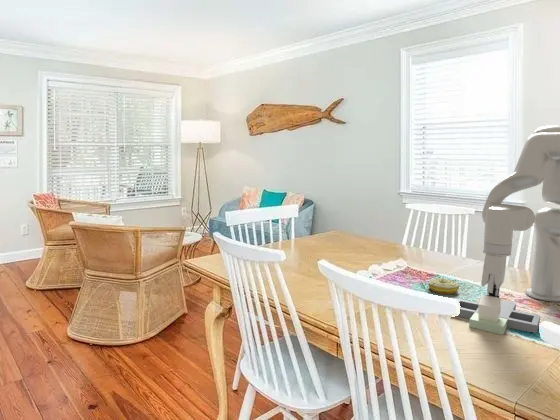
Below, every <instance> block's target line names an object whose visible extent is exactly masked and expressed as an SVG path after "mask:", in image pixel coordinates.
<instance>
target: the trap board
mask: <svg viewBox="0 0 560 420" xmlns="http://www.w3.org/2000/svg"><path fill="white" fill-rule="evenodd" d="M456 299H457V300H459V303H460V306H461V307H460V314H459V316H458V317H461V318H464V319H469V323H468V326H469V328H473V329H477V330H481V331H486V332H488V333H489V332H490V333H493V334H498V335H502V336H503V335H504V334H505V332H506V329H507V328H509V329H514V330H518V331H522V332H526V331H527V333H530V332H534V333H533V334H535V333H536V332H537V333H538V329H539V327H538V325H539V326H540V324H541V315H538V314H533V313H529V312H525V311H519V310H517V302H512V301H507V300H502V299H501V312H500V315H499V318H498V321H497V322H494V321H489V320H485V319H480V318H478V304H479V302H475V301H470V300H465V299H460V298H456ZM539 323H540V324H539ZM537 333H536V334H537Z"/></svg>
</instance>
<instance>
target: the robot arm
mask: <svg viewBox="0 0 560 420" xmlns="http://www.w3.org/2000/svg"><path fill="white" fill-rule="evenodd" d="M541 183H542V187H541V197H542V200H543V201H544V203H547V204H551V205H555V206H560V125H546V126H540V127H537V129H535V130H534V131H533V134H531V135H530V136H528V137H527V139H526V141H525V143H524V145H523V148H522V151H521V152H520V155H519V158H518V161H517V163H516V165H515V167H514V171H513V172H512V173H511V174H509V175H507V176H506V177H505V178H504V179H502V180H501V181H500V182H498V183H497V184H496V185H495V186H494V187H492V189H491V190H490V192H489V193H488V196H487V197H486V200H485V203H484V206H483V209H482V213H481V219H482V221H483V223H484V235H483V245H482V253H483V254H485V256H484V261H483V267H482V275H481V282H480V285H481V287H485V286H486V288H487V289H486V295H487V296H492V297H497V298H500V290H501V289H500V288H501V286H502V285H503V284H504V282H505V278H506V277H505V275H506V270H507V269H506V267H507V257H511V256H512V248H513V247H512V246H513V238H514V237H513V236H514V232H515V231H518V232H523V231H527V230H529V229H530V228H532V226H534V234H535V235H534V249H533V250H534V251H533V261H532V262H533V263H532V272H531V283H530V287H528V288H526V289H525V294H526V295H527V296H529V297H531V298H533V299H536V300H540V301H546V302H557V303H558V302H559V303H560V208H554V207H544V208H540V209H539V210H537V211H536V213H534V210H532V209H531V208H530V207H527V206H523V205H517V204H507V203H503V202H504V200H505V199H506V198H508V197H510V195H512V194H514V193H518V192H521V191H523V190H527V189H532V188H533V187H537V186H539V185H540V184H541Z"/></svg>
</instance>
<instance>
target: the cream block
mask: <svg viewBox="0 0 560 420" xmlns="http://www.w3.org/2000/svg"><path fill="white" fill-rule="evenodd" d="M501 300H502V299H501V297H499V298H497V297H492V296H487V294H482V295H481V297H480V300H479V302H478V303H479V304H478V318H480V319H485V320H489V321H494V322H497V321H498V318H499V315H500V312H501Z"/></svg>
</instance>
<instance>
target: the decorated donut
mask: <svg viewBox="0 0 560 420" xmlns="http://www.w3.org/2000/svg"><path fill="white" fill-rule="evenodd" d="M428 288H429V290H430V291H432V292H434V293H436V294H440V295H453V294H455V293H457V292H458V291H459V288H460V285H459V284H458V282H456V281H454V280H452V279H447V278H441V277H440V278H434V279H433V278H432V279H430V280H429V281H428Z"/></svg>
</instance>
